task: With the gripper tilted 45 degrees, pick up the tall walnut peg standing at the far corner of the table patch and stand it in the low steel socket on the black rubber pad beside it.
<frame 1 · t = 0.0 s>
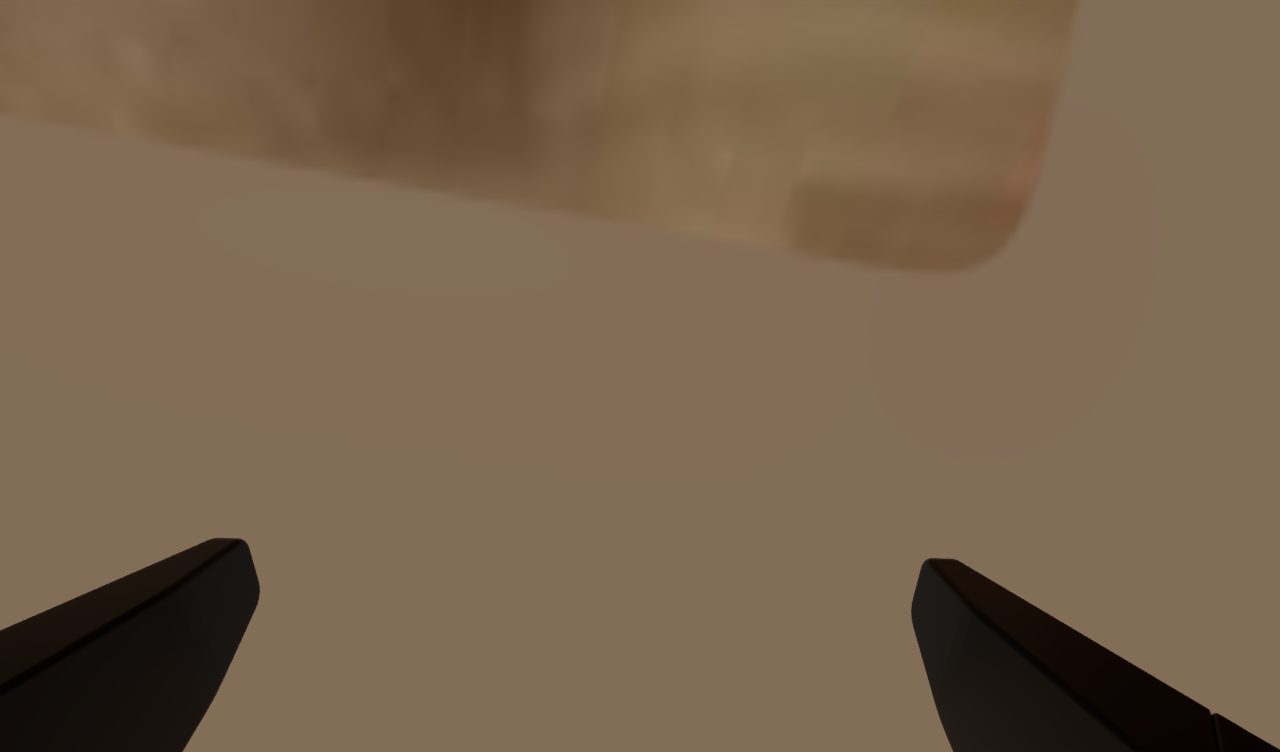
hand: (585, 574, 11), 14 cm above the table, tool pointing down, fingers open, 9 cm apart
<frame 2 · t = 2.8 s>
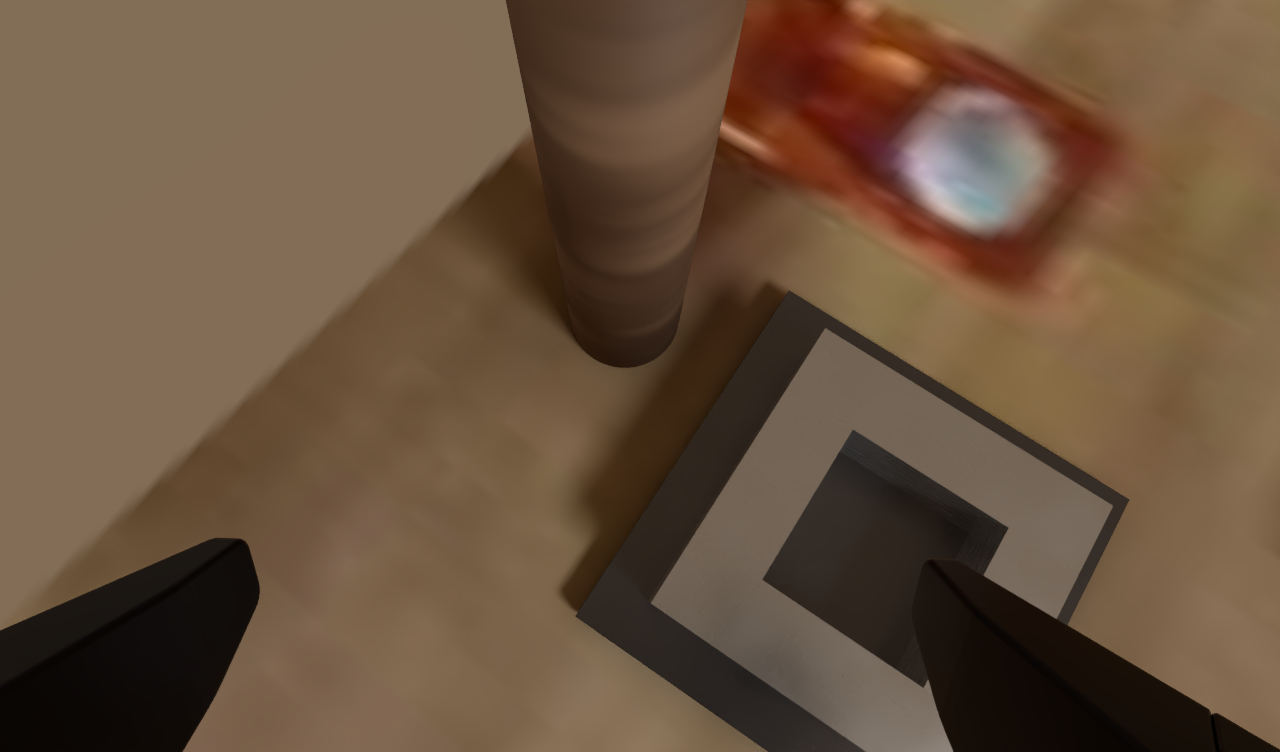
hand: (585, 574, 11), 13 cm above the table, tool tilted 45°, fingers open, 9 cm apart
steel socket: (854, 557, 24), on the table
walnut peg: (624, 315, 26), on the table
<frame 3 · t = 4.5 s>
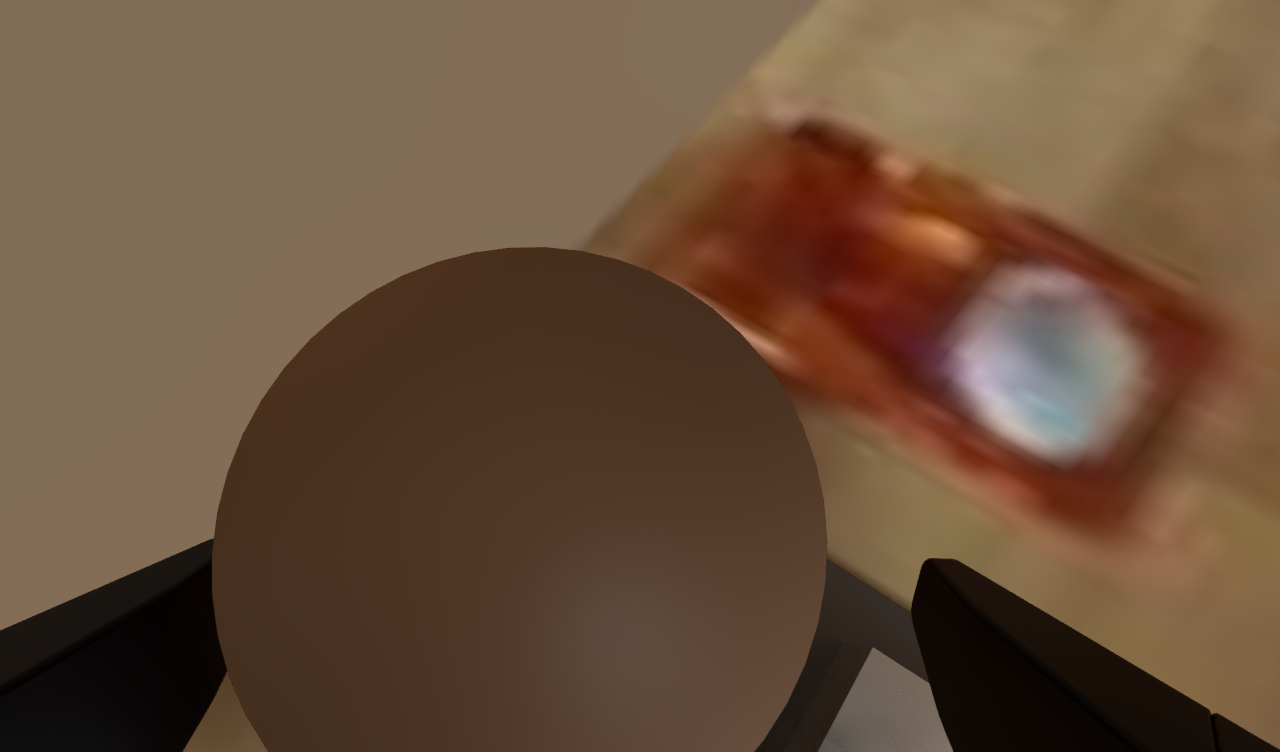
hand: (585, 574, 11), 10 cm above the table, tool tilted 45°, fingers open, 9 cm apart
walnut peg: (607, 587, 20), on the table
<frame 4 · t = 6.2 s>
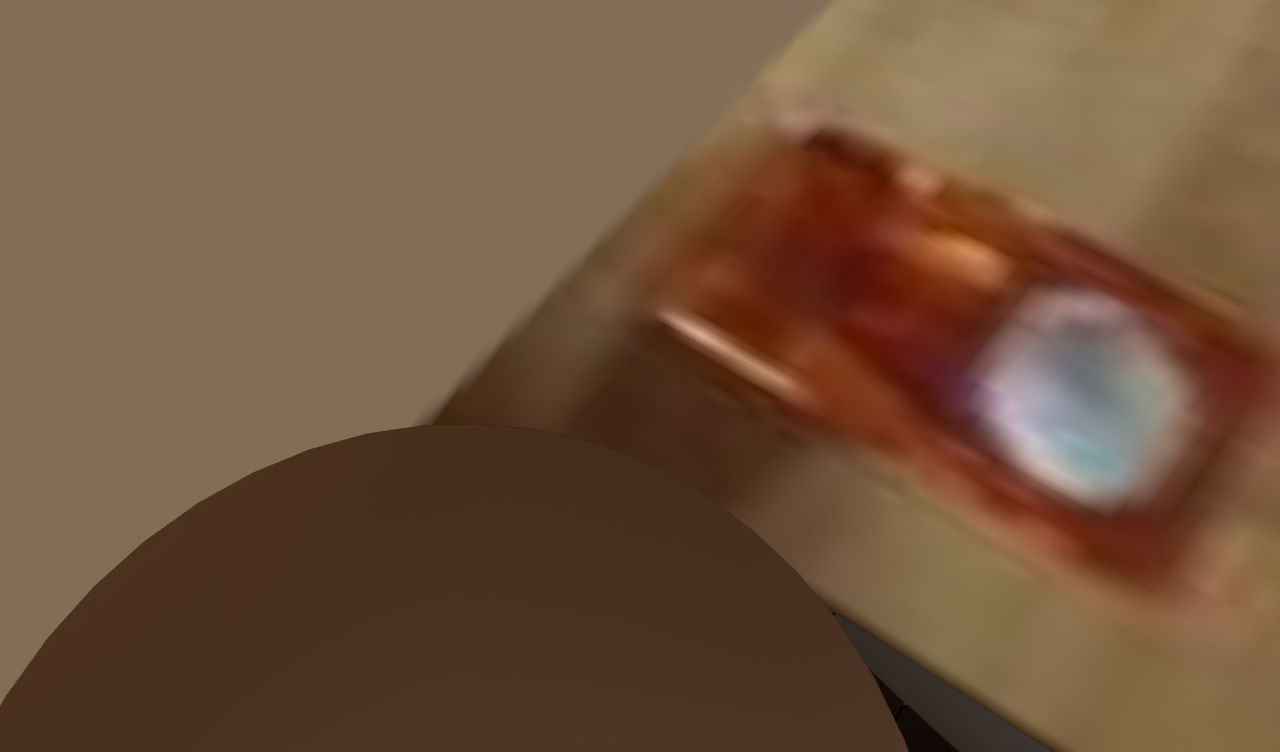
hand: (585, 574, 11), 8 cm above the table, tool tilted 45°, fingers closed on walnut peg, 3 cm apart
walnut peg: (603, 648, 18), on the table, touching gripper
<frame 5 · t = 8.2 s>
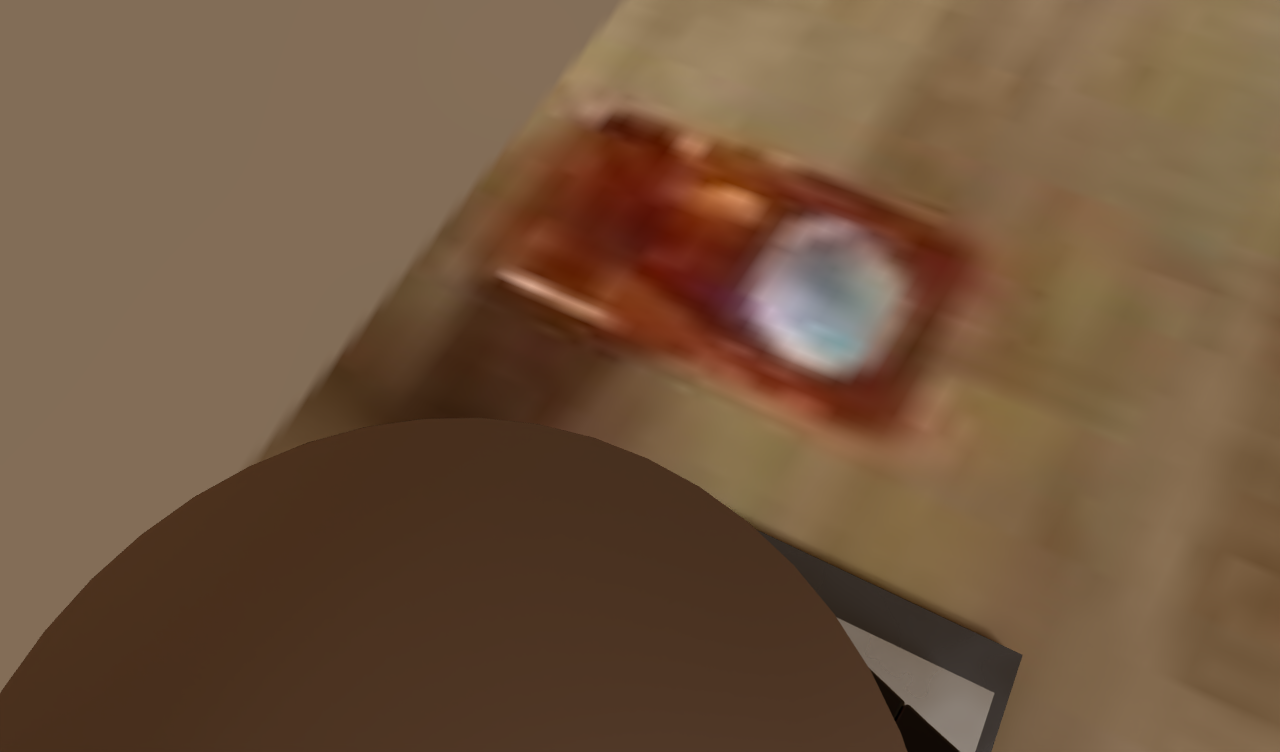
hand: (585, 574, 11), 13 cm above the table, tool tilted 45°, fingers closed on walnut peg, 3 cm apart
walnut peg: (603, 647, 18), point 5 cm above the table, touching gripper
when the fingers open (10 cm above the table, at t = 10.4 s): walnut peg stays where it is, resting on steel socket.
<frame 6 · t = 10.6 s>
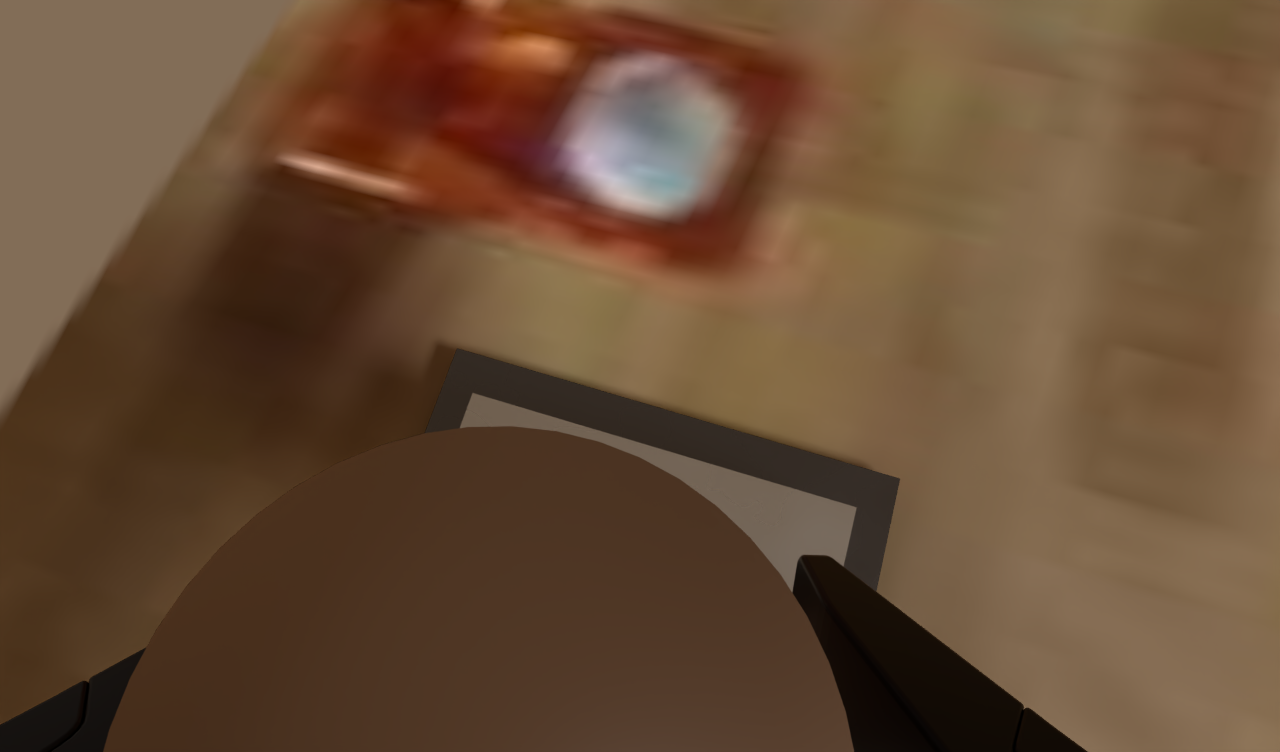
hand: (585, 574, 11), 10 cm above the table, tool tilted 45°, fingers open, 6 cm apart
steel socket: (605, 643, 19), on the table
walnut peg: (604, 648, 19), point 1 cm above the table, touching steel socket
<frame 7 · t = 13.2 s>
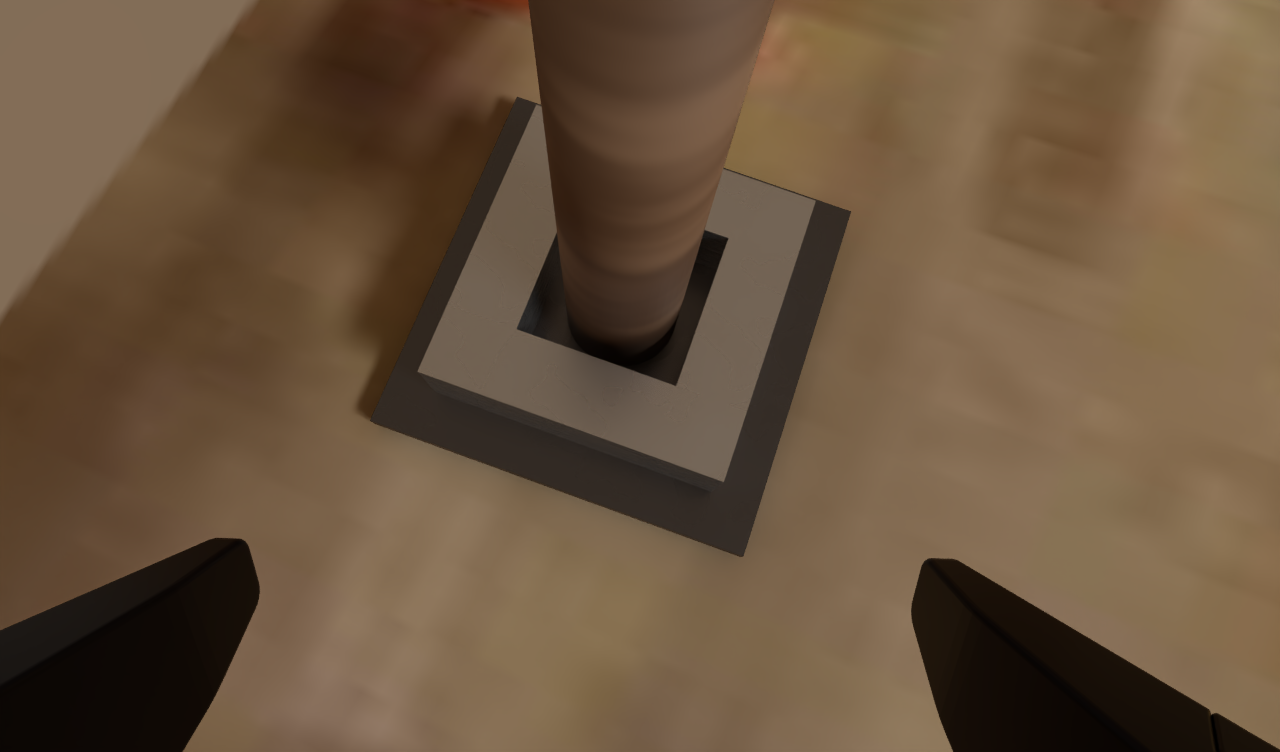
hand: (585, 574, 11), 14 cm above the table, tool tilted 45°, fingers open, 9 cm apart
steel socket: (622, 315, 26), on the table
walnut peg: (622, 313, 25), point 1 cm above the table, touching steel socket
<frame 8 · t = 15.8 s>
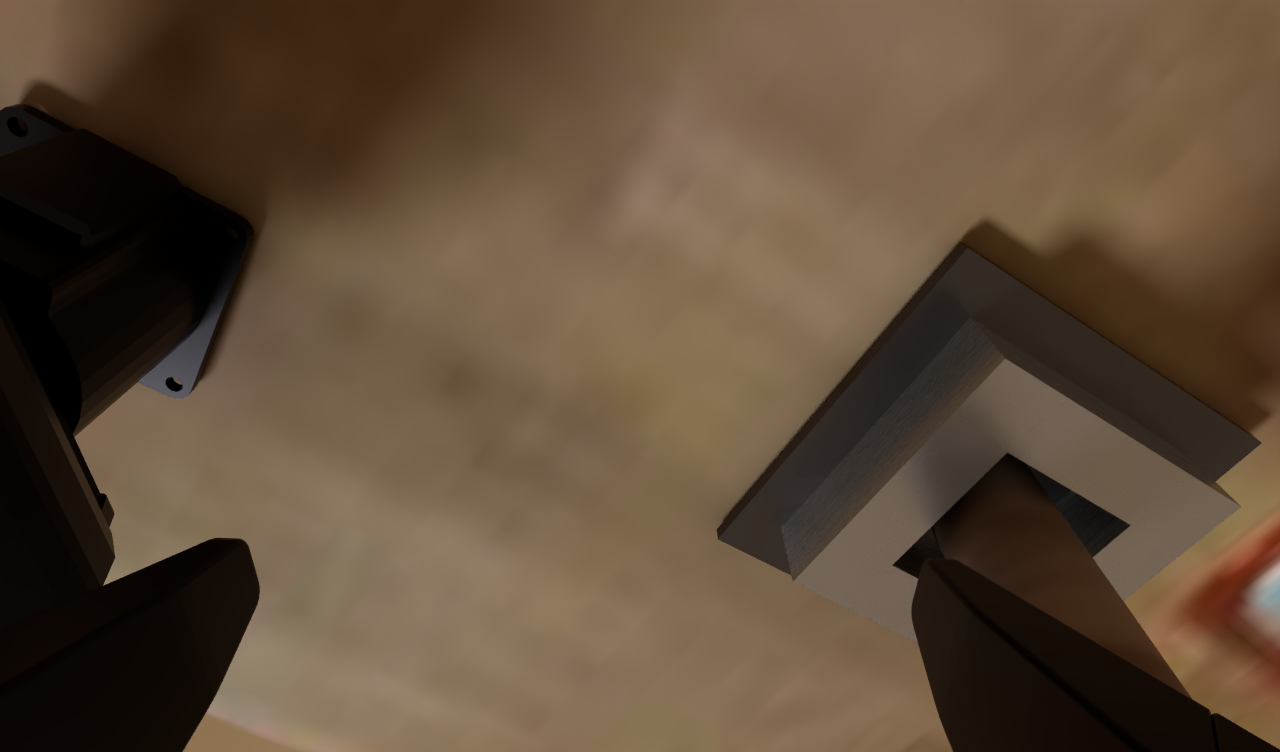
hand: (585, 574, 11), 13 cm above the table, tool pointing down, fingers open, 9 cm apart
steel socket: (972, 483, 26), on the table
walnut peg: (976, 492, 25), point 1 cm above the table, touching steel socket
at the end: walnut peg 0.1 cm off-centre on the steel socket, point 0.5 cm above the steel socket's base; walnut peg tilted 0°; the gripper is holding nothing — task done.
